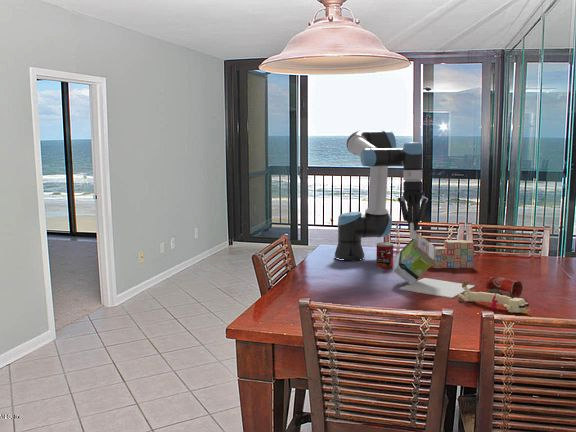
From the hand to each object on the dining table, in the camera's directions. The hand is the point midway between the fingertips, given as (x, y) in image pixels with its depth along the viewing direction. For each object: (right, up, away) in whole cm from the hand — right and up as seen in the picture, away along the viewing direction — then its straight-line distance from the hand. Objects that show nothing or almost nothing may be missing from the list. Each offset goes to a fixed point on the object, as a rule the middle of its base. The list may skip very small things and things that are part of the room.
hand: (413, 238), depth 227 cm
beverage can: (+30, -21, -16) cm, 40 cm away
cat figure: (+21, -23, -32) cm, 45 cm away
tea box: (-3, -14, +5) cm, 15 cm away
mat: (+9, -20, -5) cm, 22 cm away
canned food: (-5, -15, +36) cm, 39 cm away
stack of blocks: (+24, -15, +34) cm, 45 cm away
